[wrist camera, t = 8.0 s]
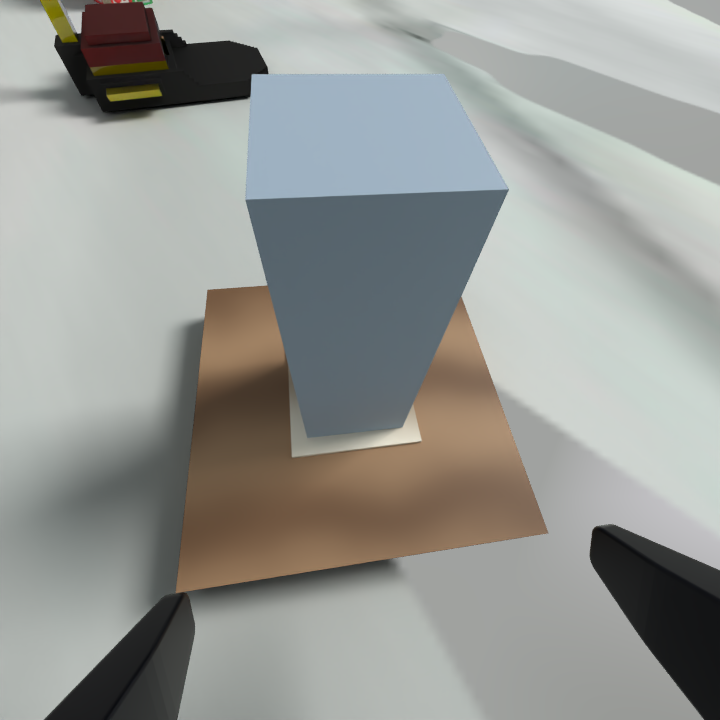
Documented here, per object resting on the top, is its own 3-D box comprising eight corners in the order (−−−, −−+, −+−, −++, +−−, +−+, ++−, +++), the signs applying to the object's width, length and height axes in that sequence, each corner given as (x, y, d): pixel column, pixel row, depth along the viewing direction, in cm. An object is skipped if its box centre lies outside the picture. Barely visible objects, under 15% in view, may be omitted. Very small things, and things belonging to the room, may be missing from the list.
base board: (523, 537, 18) (550, 533, 16) (197, 589, 16) (173, 593, 14) (443, 297, 26) (453, 270, 24) (219, 314, 24) (206, 287, 22)
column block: (402, 427, 18) (508, 189, 7) (307, 437, 17) (245, 199, 6) (386, 347, 20) (444, 74, 9) (302, 355, 20) (251, 74, 8)
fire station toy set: (86, 68, 42) (12, -77, 32) (253, 53, 46) (230, -79, 37) (84, 130, 35) (-10, -30, 26) (279, 106, 40) (260, -38, 30)
